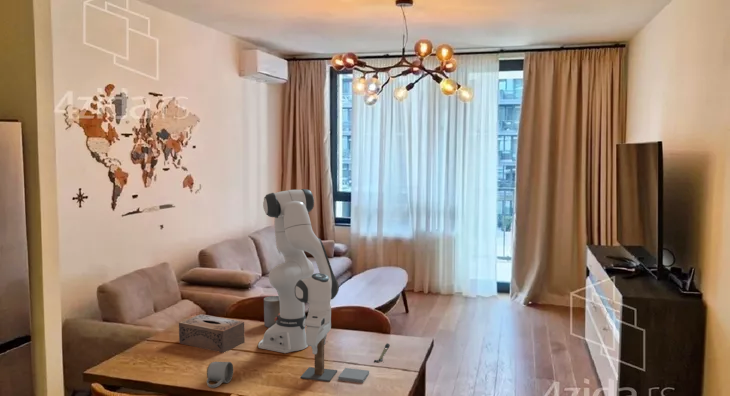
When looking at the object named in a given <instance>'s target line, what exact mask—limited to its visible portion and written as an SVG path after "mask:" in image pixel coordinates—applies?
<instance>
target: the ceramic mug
mask: <svg viewBox="0 0 730 396" xmlns="http://www.w3.org/2000/svg"><path fill="white" fill-rule="evenodd" d="M233 375H234V366H233V363H232V362H231V361H213V362H210V363H209V364H208V366H207V368H206V378H207V379H206V384H207V387H209V388H211V389H215V388H218V387H220V385H222V383H224V384H229V383H230V382H231V380H232V379H233ZM210 382H215V383H213V384H210Z"/></svg>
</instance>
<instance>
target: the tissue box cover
mask: <svg viewBox="0 0 730 396" xmlns="http://www.w3.org/2000/svg"><path fill="white" fill-rule="evenodd" d="M178 337H179V338H178V342H179V344H180V345H186V346H189V347H195V348H200V349H204V350H208V349H209V351H212V352H213V351H214V352H217V351H219V352H218V353H222V352H223V354H224V352H225V353H226V351H227V352H228V351H230V350H232V349H234V348H237V347H238V346H240V345H242V344H245V343H246V342H245V321H243V320H242V321H241V320H237V319H236V320H235V319H230V318H227V317H226V318H225V317H219V316H214V315H209V314H203V313H200V314H197V315H194V316H192V317H189V318H187V319H184V320H182V321H180V322H178Z"/></svg>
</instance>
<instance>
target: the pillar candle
mask: <svg viewBox="0 0 730 396" xmlns="http://www.w3.org/2000/svg"><path fill="white" fill-rule="evenodd" d="M279 313H280V301H279V296H278V295H269V296H265V297H264V298H263V319H264V320H263V321H264V323H263V324H264V327H267V328H268V329H269V328H270V327H271V326H273V325H274V324H275V323H276V321H275V318H276V317H277V316H278V314H279Z"/></svg>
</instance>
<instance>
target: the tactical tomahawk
mask: <svg viewBox="0 0 730 396" xmlns="http://www.w3.org/2000/svg"><path fill="white" fill-rule="evenodd" d="M385 348H388V349H389V348H390V343H387V342H386V344H385V346H384V348H383V349H382V351H381V354H380V356H379V358H378V359H374V361H373V362H374V363H375V362H376V363H378V362H382V361H383V359H384V357H383V356H385V355H386V353H387V351H388V349H385ZM384 354H385V355H384Z"/></svg>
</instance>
